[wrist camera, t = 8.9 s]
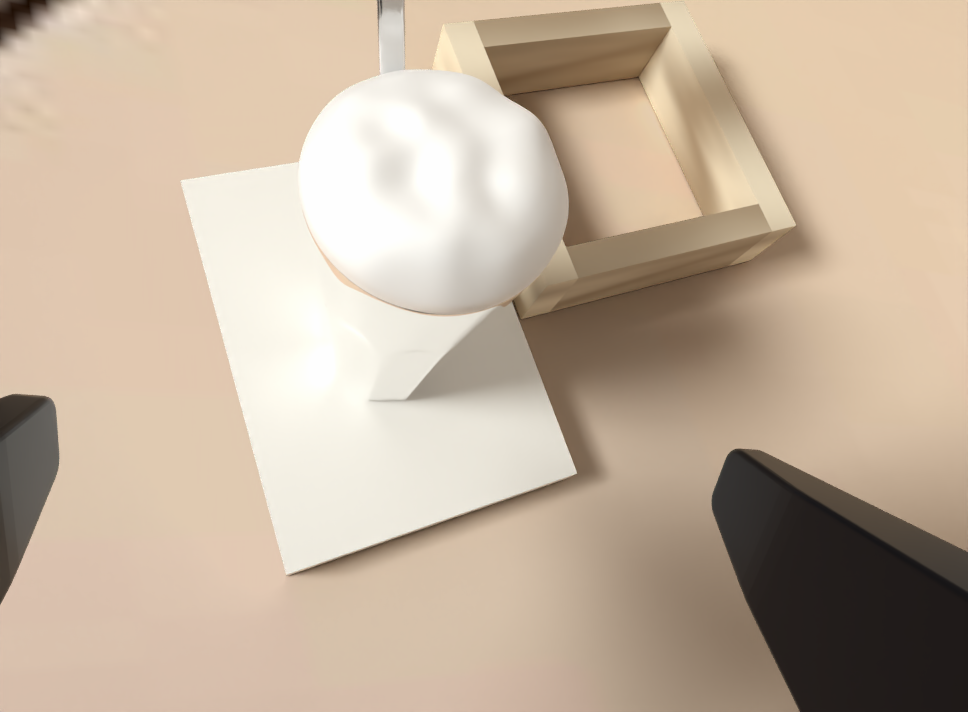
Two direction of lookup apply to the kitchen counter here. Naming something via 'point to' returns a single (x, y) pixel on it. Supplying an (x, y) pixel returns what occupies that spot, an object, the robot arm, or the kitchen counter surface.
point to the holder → (683, 116)
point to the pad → (344, 414)
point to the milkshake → (422, 216)
